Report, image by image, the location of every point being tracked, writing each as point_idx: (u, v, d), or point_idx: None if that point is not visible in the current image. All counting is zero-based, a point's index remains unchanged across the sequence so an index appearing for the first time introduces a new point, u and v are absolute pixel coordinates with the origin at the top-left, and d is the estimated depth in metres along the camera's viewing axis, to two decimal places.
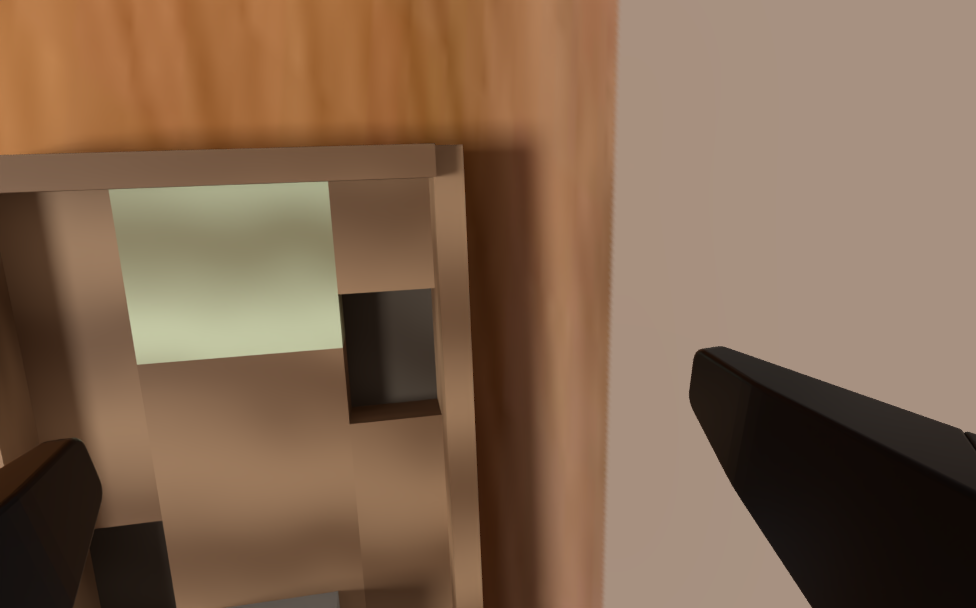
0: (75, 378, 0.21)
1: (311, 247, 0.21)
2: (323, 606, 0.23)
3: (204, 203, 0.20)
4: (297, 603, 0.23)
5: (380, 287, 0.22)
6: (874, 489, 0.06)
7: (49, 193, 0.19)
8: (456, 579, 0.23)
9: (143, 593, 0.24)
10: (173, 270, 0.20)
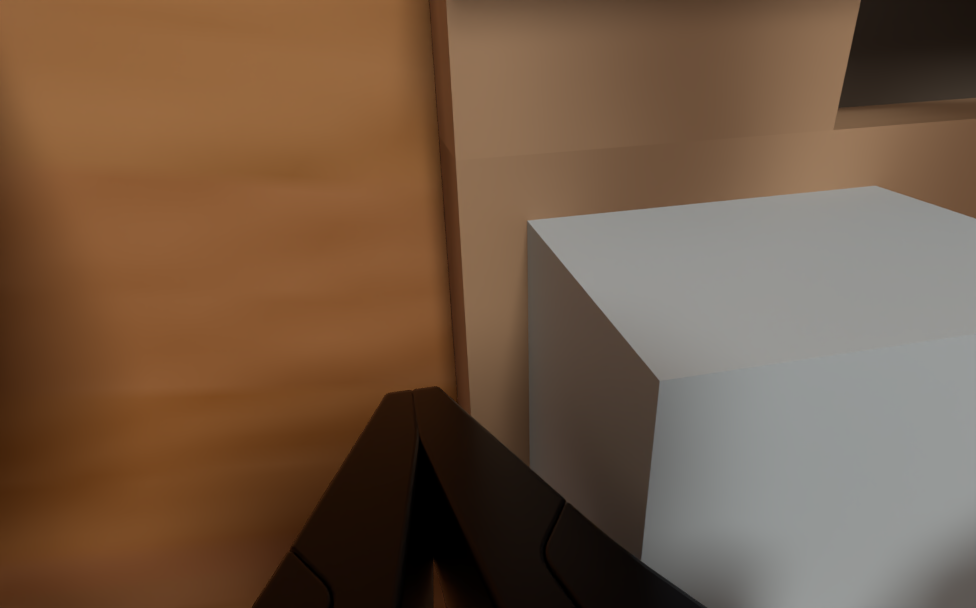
0: None
1: None
2: None
3: None
4: None
5: None
6: (463, 567, 0.06)
7: None
8: None
9: None
10: None
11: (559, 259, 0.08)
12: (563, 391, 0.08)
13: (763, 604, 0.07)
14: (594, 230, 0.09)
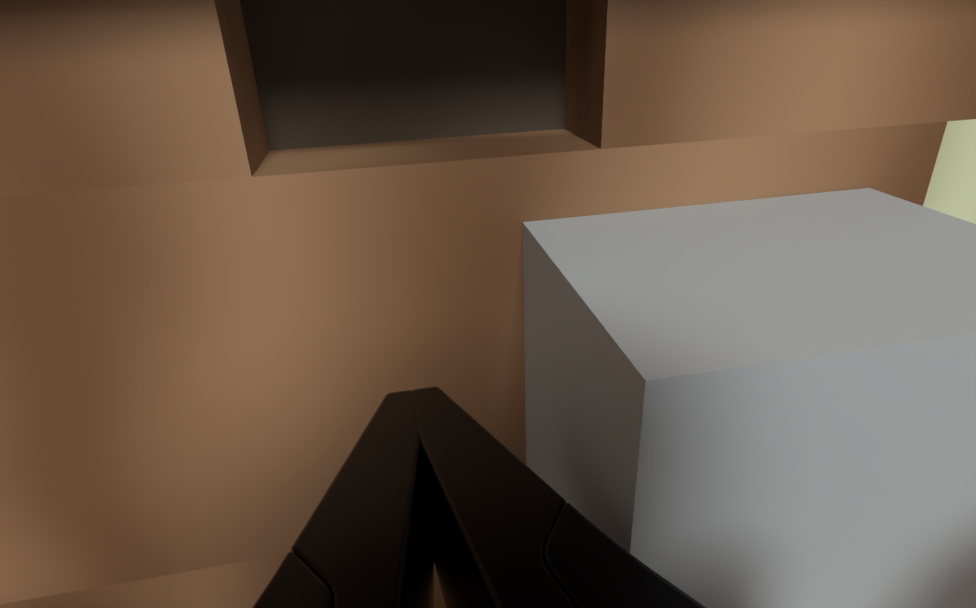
0: None
1: None
2: None
3: None
4: None
5: None
6: (462, 567, 0.06)
7: None
8: None
9: (307, 22, 0.09)
10: None
11: (552, 260, 0.08)
12: (557, 391, 0.08)
13: (750, 601, 0.07)
14: (588, 232, 0.09)
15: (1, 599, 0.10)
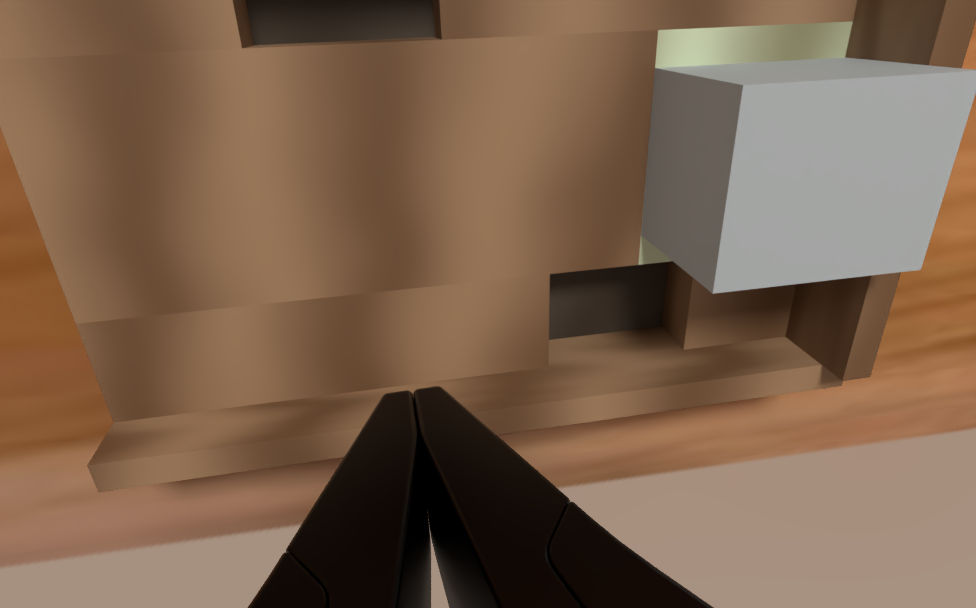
0: None
1: None
2: None
3: None
4: None
5: (693, 299, 0.21)
6: (466, 566, 0.06)
7: None
8: None
9: None
10: None
11: (681, 73, 0.16)
12: (679, 146, 0.16)
13: (780, 223, 0.15)
14: (693, 68, 0.16)
15: (92, 318, 0.17)
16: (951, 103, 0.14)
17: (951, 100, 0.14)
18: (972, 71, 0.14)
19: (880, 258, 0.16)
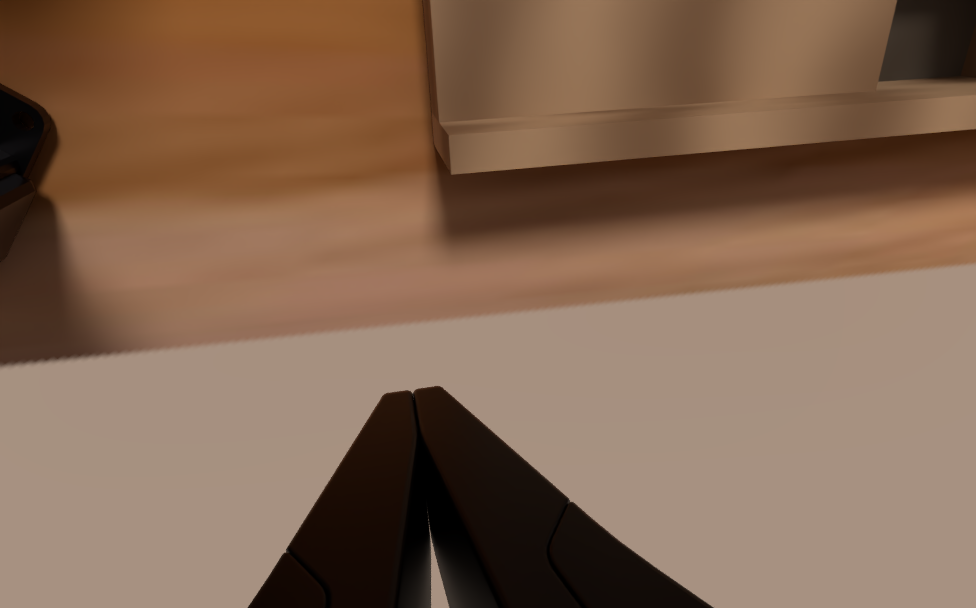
0: None
1: None
2: None
3: None
4: None
5: None
6: (466, 566, 0.06)
7: None
8: (745, 114, 0.16)
9: None
10: None
11: None
12: None
13: None
14: None
15: None
16: None
17: None
18: None
19: None
